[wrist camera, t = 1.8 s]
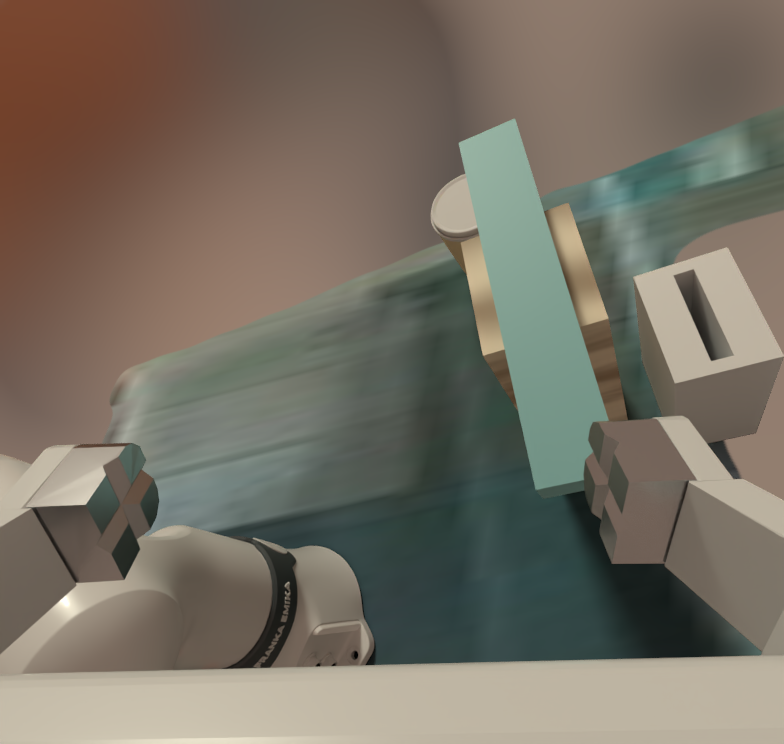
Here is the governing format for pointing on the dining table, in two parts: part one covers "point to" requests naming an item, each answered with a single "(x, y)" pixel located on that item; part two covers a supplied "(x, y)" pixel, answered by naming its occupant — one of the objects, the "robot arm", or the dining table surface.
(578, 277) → the birch stand
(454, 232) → the coffee cup
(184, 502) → the dining table surface
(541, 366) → the teal board
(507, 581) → the dining table surface
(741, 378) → the grey slot box
